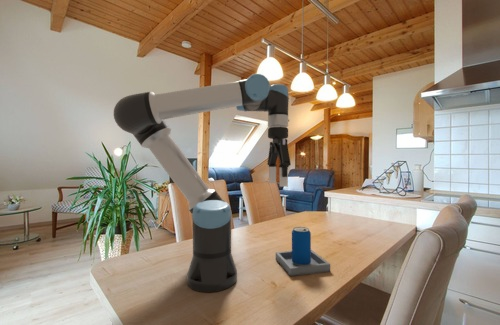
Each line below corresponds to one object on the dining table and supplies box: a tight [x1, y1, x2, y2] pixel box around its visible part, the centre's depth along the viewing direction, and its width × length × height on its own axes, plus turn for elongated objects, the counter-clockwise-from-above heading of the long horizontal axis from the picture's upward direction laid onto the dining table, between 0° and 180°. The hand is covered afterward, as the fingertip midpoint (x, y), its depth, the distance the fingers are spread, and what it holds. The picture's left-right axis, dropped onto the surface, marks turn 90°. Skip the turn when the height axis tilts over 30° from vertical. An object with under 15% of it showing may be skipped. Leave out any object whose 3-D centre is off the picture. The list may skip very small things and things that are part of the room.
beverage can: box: [291, 226, 312, 266], centre depth 84 cm, size 6×6×12 cm
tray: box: [275, 249, 331, 277], centre depth 84 cm, size 14×14×2 cm
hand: (277, 184), depth 89 cm, fingers open, 13 cm apart
